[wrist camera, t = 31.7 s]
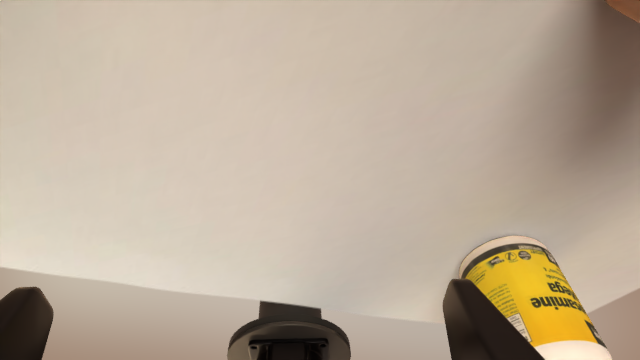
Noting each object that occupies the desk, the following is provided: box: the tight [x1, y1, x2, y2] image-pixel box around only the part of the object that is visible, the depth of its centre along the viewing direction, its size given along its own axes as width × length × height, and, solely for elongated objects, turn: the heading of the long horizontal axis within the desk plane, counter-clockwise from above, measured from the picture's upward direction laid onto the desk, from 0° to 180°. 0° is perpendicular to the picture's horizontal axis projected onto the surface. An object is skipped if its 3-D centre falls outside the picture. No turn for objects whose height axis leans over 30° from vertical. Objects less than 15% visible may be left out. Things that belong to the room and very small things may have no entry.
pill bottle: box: [459, 236, 612, 360], centre depth 25 cm, size 6×6×11 cm
